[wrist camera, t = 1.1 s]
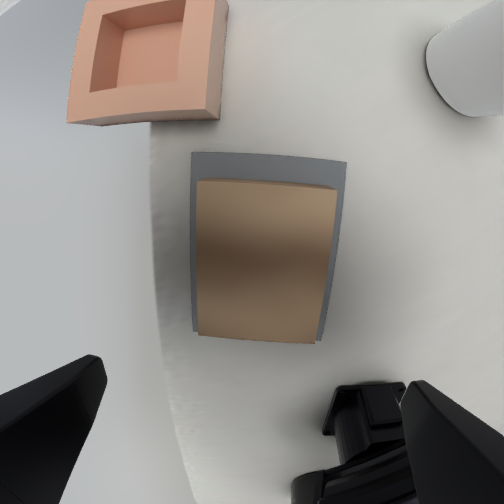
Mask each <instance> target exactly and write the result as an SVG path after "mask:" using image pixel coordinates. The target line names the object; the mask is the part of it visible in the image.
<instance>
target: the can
mask: <svg viewBox="0 0 504 504" xmlns="http://www.w3.org/2000/svg"><path fill="white" fill-rule="evenodd" d="M426 63H427V68H428V72H429V75H430V78H431V80H432V82H433V84H434V86H435V87H436V89H437V90H438V92H439V93H440V95H441V96H442V97H443V99H444V100H445V101H446V102H447V103H448V104H449V105H450V106H451V107H452V108H453V109H455V110H456V111H458V112H459V113H461V114H463V115H466V116H470V117H483V116H496V115H504V0H493V1H491V2H490V3H488V4H486V5H484V6H482V7H481V8H479V9H477V10H475V11H474V12H472V13H470V14H468V15H467V16H465V17H463V18H462V19H460V20H458V21H457V22H455V23H453V24H452V25H450V26H449V27H447V28H445V29H444V30H442V31H441V32H439V33H438V34H436V35H435V36H434V37H433V38H432V39H431V40H430V41H429V43H428V46H427V50H426Z"/></svg>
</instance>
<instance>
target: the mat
mask: <svg viewBox="0 0 504 504" xmlns="http://www.w3.org/2000/svg"><path fill="white" fill-rule="evenodd" d="M346 166H347V162H341V161H333V160H324V159H315V158H305V157H294V156H281V155H267V154H249V153H222V152H192V153H191V186H190V266H191V300H192V323H193V331H194V332H198V312H197V273H196V203H197V181H199V180H202V179H205V178H230V179H250V180H267V181H281V182H294V183H305V184H316V185H326V186H330V187H332V188H334V189H335V190H337V201H336V210H335V219H334V227H333V235H332V243H331V251H330V258H329V265H328V271H327V278H326V284H325V290H324V296H323V302H322V308H321V314H320V319H319V325H318V330H317V335H316V340H315V341H321V339H322V334H323V329H324V324H325V319H326V313H327V308H328V303H329V297H330V291H331V286H332V280H333V273H334V267H335V261H336V254H337V247H338V240H339V232H340V224H341V216H342V207H343V198H344V188H345V178H346Z"/></svg>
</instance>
